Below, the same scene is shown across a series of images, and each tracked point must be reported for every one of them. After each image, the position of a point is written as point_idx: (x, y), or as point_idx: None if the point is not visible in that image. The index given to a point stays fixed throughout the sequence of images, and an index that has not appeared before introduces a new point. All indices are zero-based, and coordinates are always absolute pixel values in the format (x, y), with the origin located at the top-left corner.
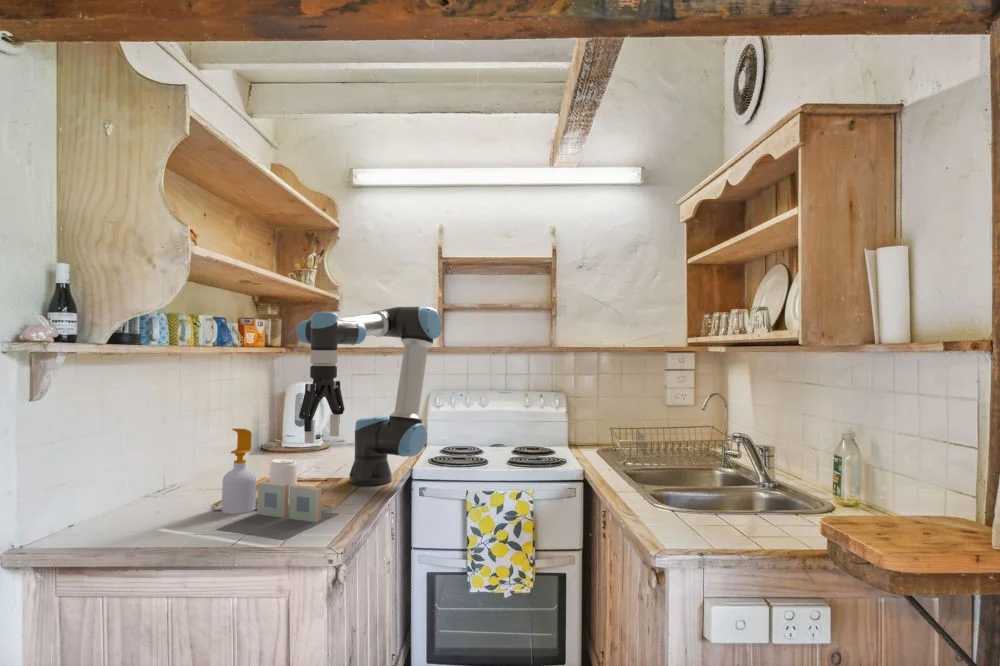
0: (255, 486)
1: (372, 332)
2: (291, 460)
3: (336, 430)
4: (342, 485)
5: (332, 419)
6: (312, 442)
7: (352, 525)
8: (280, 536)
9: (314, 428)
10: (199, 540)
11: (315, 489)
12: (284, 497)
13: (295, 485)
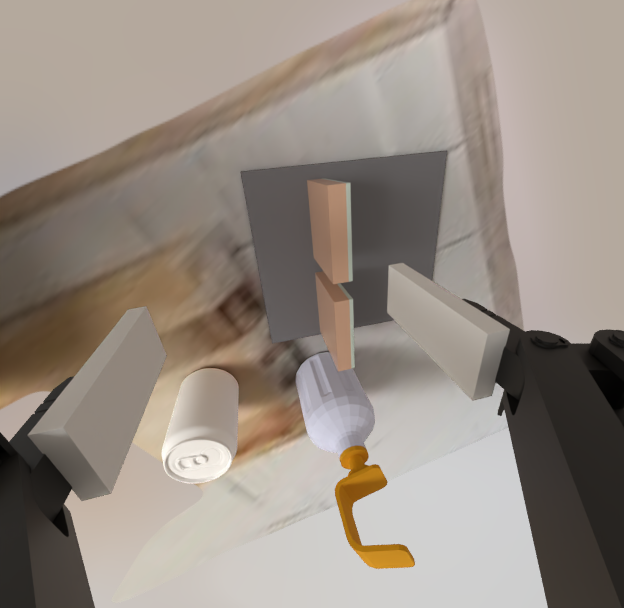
0: (318, 389)
1: None
2: (178, 455)
3: (136, 336)
4: (21, 371)
5: (119, 431)
6: (405, 265)
7: (285, 74)
8: (429, 178)
9: (438, 299)
10: (464, 296)
11: (350, 189)
12: (340, 287)
13: (337, 277)
